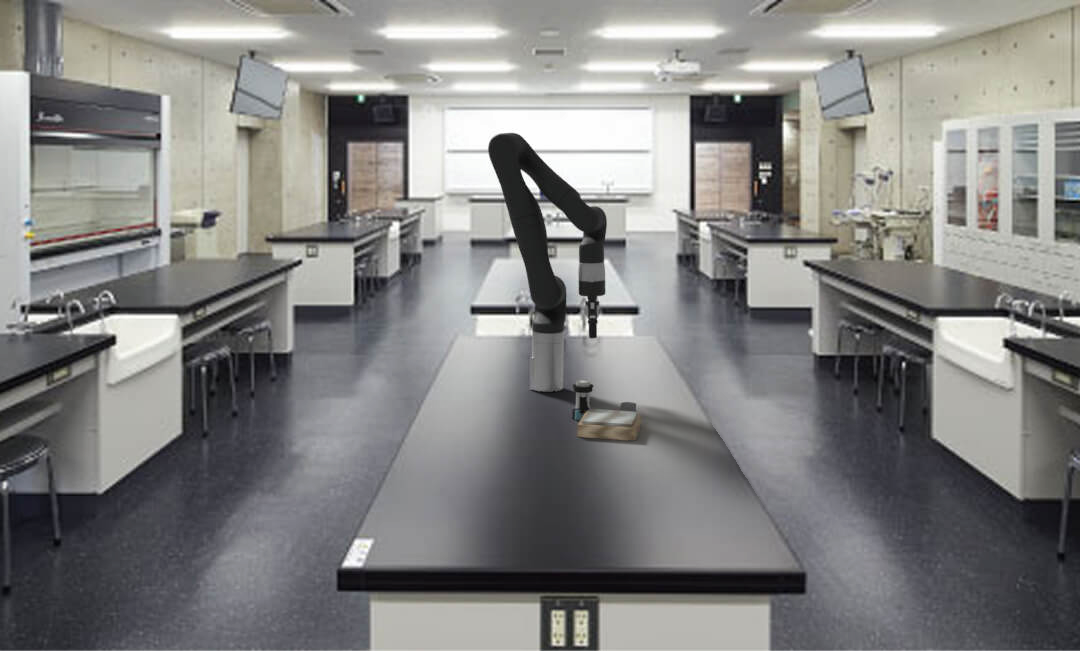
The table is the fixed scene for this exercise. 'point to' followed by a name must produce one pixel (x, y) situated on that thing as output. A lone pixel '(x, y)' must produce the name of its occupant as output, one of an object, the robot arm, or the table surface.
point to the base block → (609, 424)
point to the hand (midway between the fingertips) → (592, 335)
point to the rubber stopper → (628, 406)
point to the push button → (581, 398)
